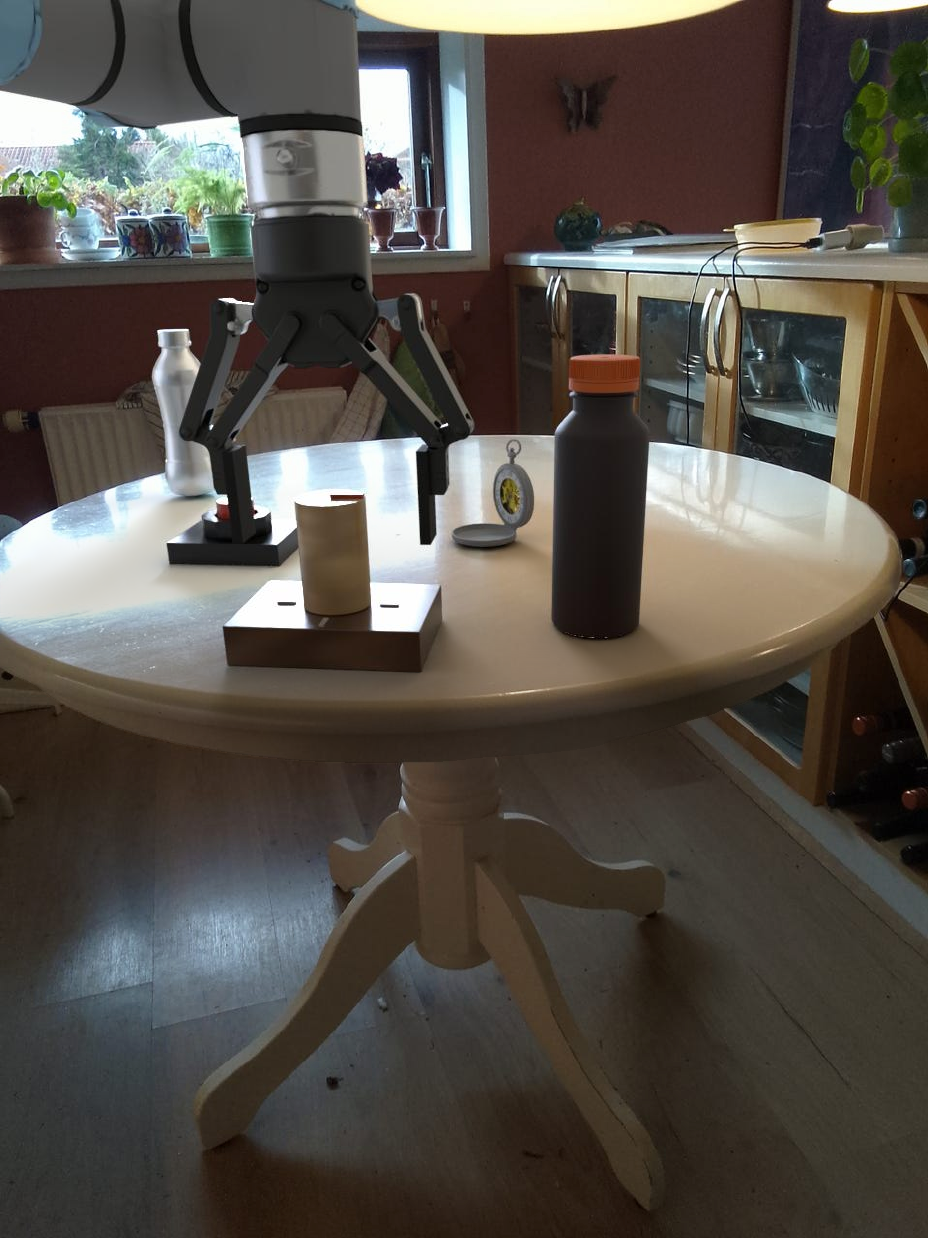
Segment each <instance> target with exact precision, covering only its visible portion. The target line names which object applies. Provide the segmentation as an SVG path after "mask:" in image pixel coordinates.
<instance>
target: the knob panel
mask: <svg viewBox="0 0 928 1238" xmlns="http://www.w3.org/2000/svg"><path fill="white" fill-rule="evenodd" d="M371 597H372V602H371V604H370V606H368V607H367V608H365V609H363V610H361V611H358V612H355V613H350V614H344V615H320V614H315V613H311V612H309V611H307V610H306V609H305V608H304V603H303V592H302V581H301V580H300V581H298V580H268V581H267V582H266V583H264V585H263V586H262V587H261V588H260V589H259V590H258V591H257V592H256V593H255V594H254V595H253V596H252V597H251V598H250V599H248V601H247V602H246V603H245V604H243V606H241V608H239V610H237V612H235V613H234V615H233V616H231V618H229V619H228V620H227V621H226V622H225V624H223V625H222V633H223V642H224V649H225V655H226V656H225V658H226V665H227V666H241V667H244V666H245V667H270V668H272V667H273V668H297V669H298V668H299V669H300V668H301V669H326V670H327V669H328V670H355V671H356V670H357V671H381V672H382V671H384V672H386V671H387V672H408V673H409V672H414V673H421V672H422V670H423V668H424V665H425V663H426V660H427V658H428V656H429V653H430V651H431V649H432V646H433V643H434V641H435V638H436V636H437V633H438V631H439V628H440V626H441V623H442V621H443V600H442V599H443V597H442V584H431V583H427V584H425V583H388V582H387V583H386V582H371Z"/></svg>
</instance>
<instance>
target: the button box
mask: <svg viewBox="0 0 928 1238" xmlns="http://www.w3.org/2000/svg"><path fill="white" fill-rule="evenodd" d="M254 509H255V515H254V522H255V531H256V533H255V534H254V535H253V536H251V537H250V538H249V539H248V540H246V541H245V542H244V543H233V541H232V533H231V525H230V519H221V518H218V516H217V508H214V509H210V510H207V511H206V512H204V513H203V514H201V515H200V516H201V520H200V521H198V522H197V523H195V524H193V525H192V526H190V527H188V528H187V529H185V530H184V531H182V532H180V534H178V535H176V536H175V537H173V538H172V539H171V540H168V541H167V542H166V549H167V557H168V564H169V565H183V566H185V565H186V566H187V565H188V566H227V567H228V566H230V567H231V566H233V567H234V566H236V567H241V566H242V567H276V568H277V567H280V566H282V565H283V564H284V563H285V562H286V561H287V560H288V559H289V558H290V557H291V556H292V555H293V554H294V553H295V552H296V551H297V550H299V548H298V537H297V525H296V519H272V511H270V510H269V508H267V507H265V506H260V505H254Z"/></svg>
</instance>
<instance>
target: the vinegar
mask: <svg viewBox="0 0 928 1238" xmlns="http://www.w3.org/2000/svg"><path fill="white" fill-rule="evenodd" d="M641 359H642V358H640V356H637V355H630V354H611V353H609V354H607V353H606V354H605V353H604V354H603V353H601V354H600V353H599V354H581V355H574V356H571V357H570V358H569V362H568V363H569V365H568V390H570V393H569V394H568V396H569V397H570V398H572V410H571V411H570V412H569V413H568V415H567V416H566V417H565V418H564V419H563V420H562V421H561V422H560V424H558V426H557V427H556V429H555V431H554V442H553V443H554V444H553V445H554V448H553V449H554V450H553V501H552V502H553V503H552V504H553V505H552V512H553V513H552V552H551V553H552V556H551V609H550V610H551V612H550V613H551V614H550V615H551V616H550V617H551V618H550V619H551V622H552V624H553V625H554V627H555V628H556V627H557V628H556V629H557V630H559V629H560V630H559V631H561V632H562V631H563V632H562V633H564V632H567V633H569V634H568V635H570V634H572V635H571V636H573V635H576V636H575V637H577V636H583V637H594V638H605V637H615V638H617V637H616V636H619V637H621V636H620V635H624V636H626V635H628V634H630V633H632V632H634V631H635V630H636V629H637V628H638V627H639V624H640V612H641V611H640V610H641V597H642V596H641V595H642V578H643V577H642V576H643V559H644V558H643V557H644V542H645V541H644V540H645V524H646V521H645V520H646V509H647V508H646V506H647V487H648V473H649V469H648V468H649V452H650V435H651V433H650V429H649V427H648V426H647V424H646V423H645V422H644V421H643V420H642V418H641V417H640V416H639V415H638V413H636V411H635V410H634V400H635V398H637V397H638V395H639V394H638V393H639V392H636V391H638V390H640V389H639V388H640V377H641ZM629 632H630V633H629ZM567 633H566V634H567ZM627 633H628V634H627ZM625 634H626V635H625ZM583 637H582V638H583ZM605 639H606V638H605Z"/></svg>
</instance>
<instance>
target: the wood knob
mask: <svg viewBox="0 0 928 1238" xmlns="http://www.w3.org/2000/svg"><path fill="white" fill-rule="evenodd" d="M293 502H294V514H295V520H296V525H297V537H298V557H299V558H298V559H299V569H300V581H302V592H303V603H304V608H305V609H306V610H307V611H309V612H311V613H315V614H320V615H344V614H350V613H355V612H358V611H361V610H363V609H365V608H367V607H368V606H370V604H371V602H372V597H371V583H372V582H371V567H370V566H371V565H370V551H369V533H368V517H367V516H368V515H367V514H368V513H367V500H366V494H365V493H364V492H360V491H358V490H350V489H322V490H314V491H309V492H305V493H302V494H299V495H297V496H295V498H294V500H293Z"/></svg>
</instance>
